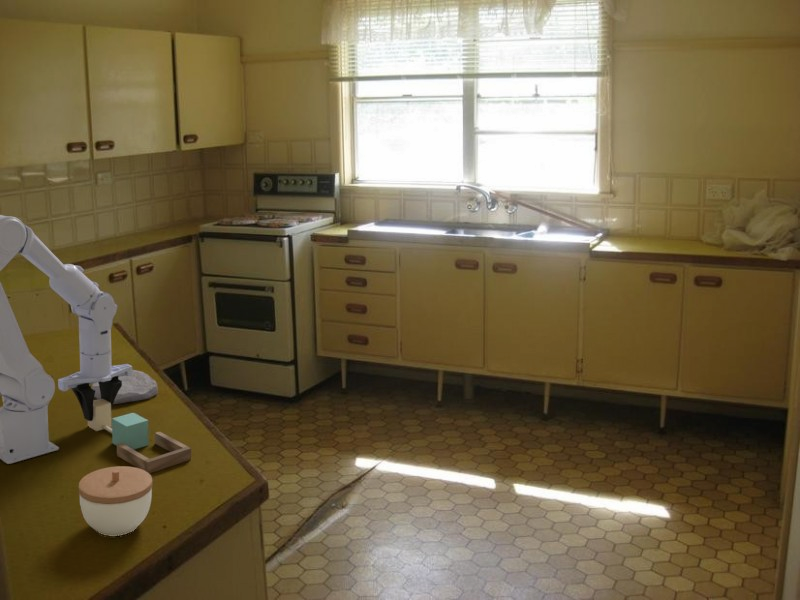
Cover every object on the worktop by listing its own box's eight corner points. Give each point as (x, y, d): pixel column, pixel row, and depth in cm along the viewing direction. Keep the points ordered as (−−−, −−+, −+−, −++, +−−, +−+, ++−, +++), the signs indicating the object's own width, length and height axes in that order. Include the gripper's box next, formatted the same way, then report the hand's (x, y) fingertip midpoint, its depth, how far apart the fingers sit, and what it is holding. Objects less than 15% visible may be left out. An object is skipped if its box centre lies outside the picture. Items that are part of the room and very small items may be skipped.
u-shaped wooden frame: (191, 459, 158) (191, 448, 158) (147, 473, 152) (147, 462, 151) (159, 442, 164) (159, 431, 164) (116, 455, 158) (116, 444, 157)
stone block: (162, 402, 189) (135, 382, 194) (164, 383, 187) (136, 363, 193) (114, 418, 180) (87, 397, 185) (116, 398, 178) (88, 377, 184)
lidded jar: (127, 503, 141) (126, 450, 139) (167, 527, 135) (166, 471, 132) (66, 526, 133) (63, 470, 131) (105, 553, 126) (103, 494, 124)
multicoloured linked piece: (148, 445, 163) (148, 420, 162) (127, 451, 160) (126, 426, 158) (105, 421, 173) (105, 397, 171) (84, 427, 169) (83, 403, 168)
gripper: (70, 363, 159) (73, 432, 162) (140, 348, 169) (141, 413, 173) (51, 354, 163) (54, 421, 166) (120, 340, 174) (122, 403, 177)
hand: (97, 416), depth 170 cm, fingers closed on multicoloured linked piece, 3 cm apart
